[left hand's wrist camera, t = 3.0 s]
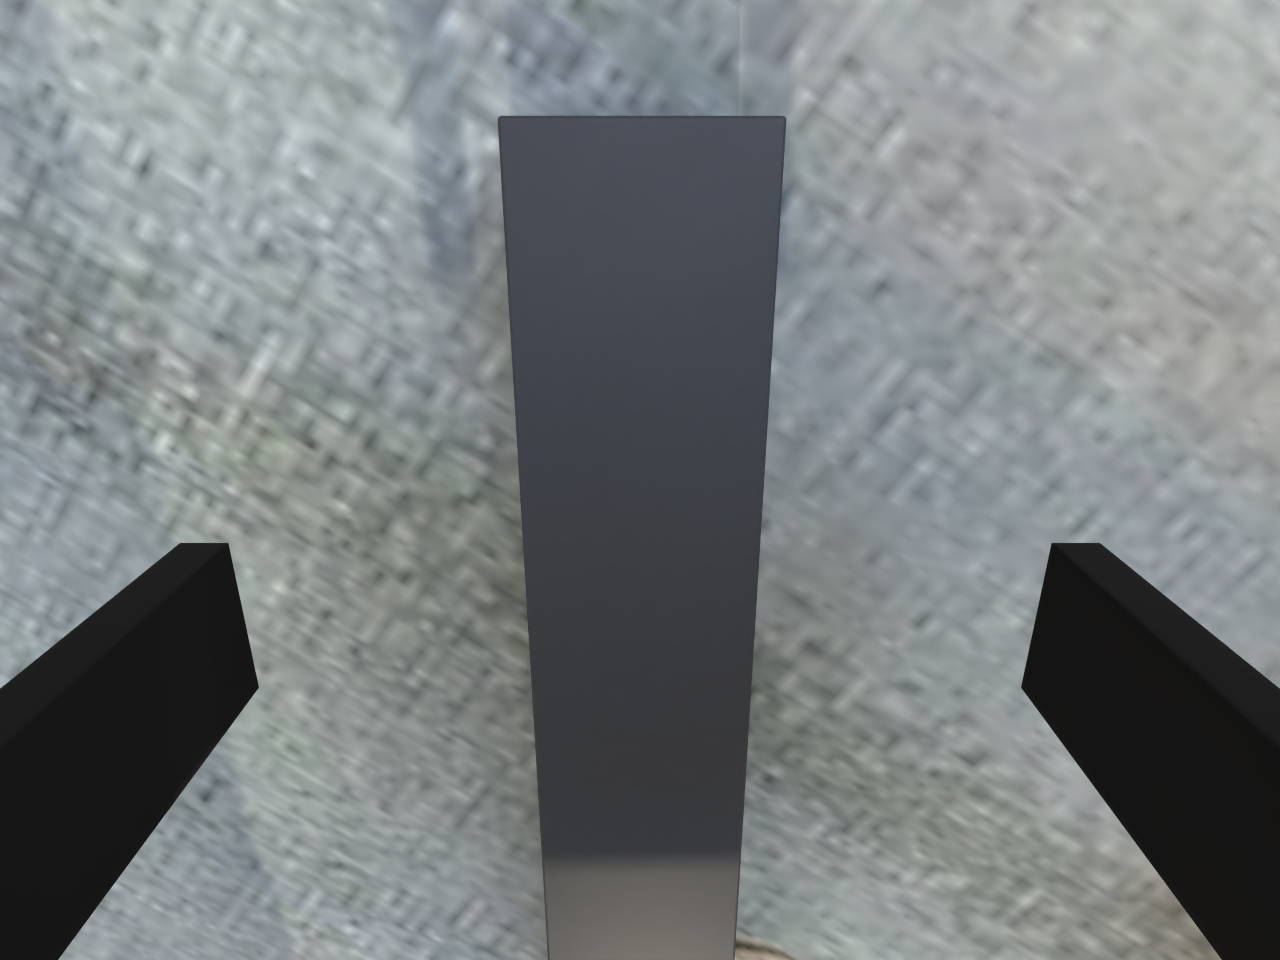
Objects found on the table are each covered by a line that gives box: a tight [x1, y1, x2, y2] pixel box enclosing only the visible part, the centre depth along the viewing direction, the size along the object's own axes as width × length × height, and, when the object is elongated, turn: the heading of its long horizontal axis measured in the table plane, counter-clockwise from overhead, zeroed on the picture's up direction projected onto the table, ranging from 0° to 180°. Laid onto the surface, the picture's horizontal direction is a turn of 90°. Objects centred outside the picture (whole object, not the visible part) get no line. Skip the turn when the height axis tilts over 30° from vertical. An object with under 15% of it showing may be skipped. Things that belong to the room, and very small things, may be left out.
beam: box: [498, 116, 786, 960], centre depth 28 cm, size 51×6×8 cm, turn 0°
